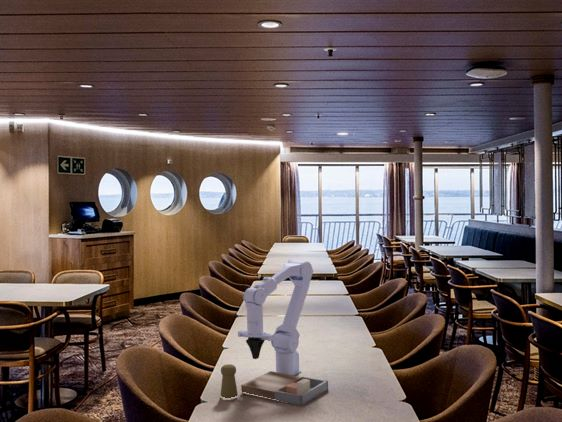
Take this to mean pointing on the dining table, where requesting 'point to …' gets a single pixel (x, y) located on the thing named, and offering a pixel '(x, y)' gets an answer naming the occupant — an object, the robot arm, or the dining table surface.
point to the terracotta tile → (291, 388)
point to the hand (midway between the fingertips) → (255, 358)
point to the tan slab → (269, 384)
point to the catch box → (315, 390)
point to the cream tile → (303, 386)
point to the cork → (228, 381)
